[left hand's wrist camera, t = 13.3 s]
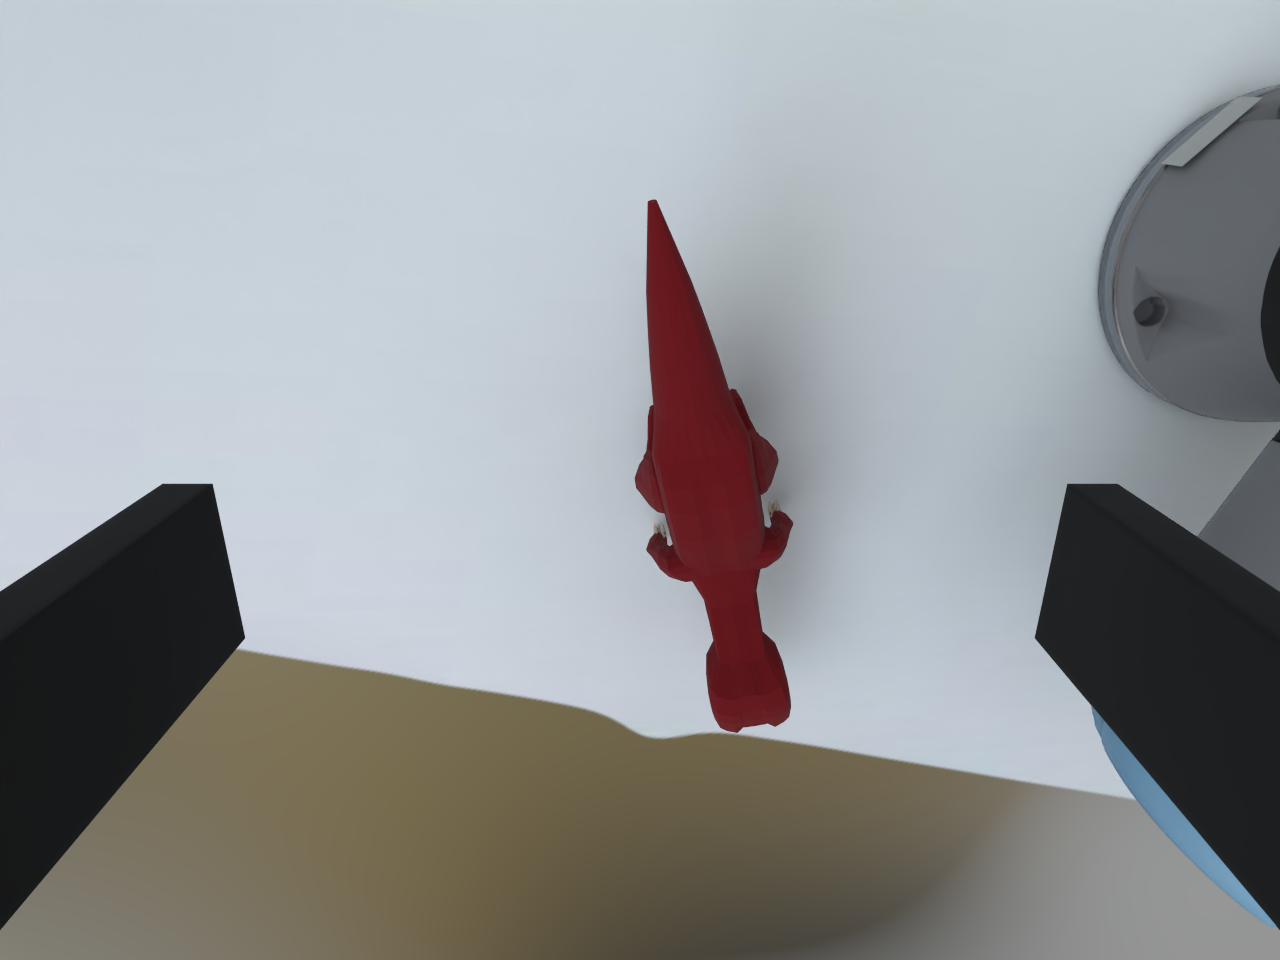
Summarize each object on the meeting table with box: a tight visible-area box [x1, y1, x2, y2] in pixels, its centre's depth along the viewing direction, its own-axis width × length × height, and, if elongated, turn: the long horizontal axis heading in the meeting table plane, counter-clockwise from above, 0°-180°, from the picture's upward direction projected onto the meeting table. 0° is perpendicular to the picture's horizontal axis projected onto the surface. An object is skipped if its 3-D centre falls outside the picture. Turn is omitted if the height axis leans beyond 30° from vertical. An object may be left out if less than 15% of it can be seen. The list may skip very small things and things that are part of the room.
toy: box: [635, 200, 793, 733], centre depth 37 cm, size 7×27×11 cm, turn 12°
